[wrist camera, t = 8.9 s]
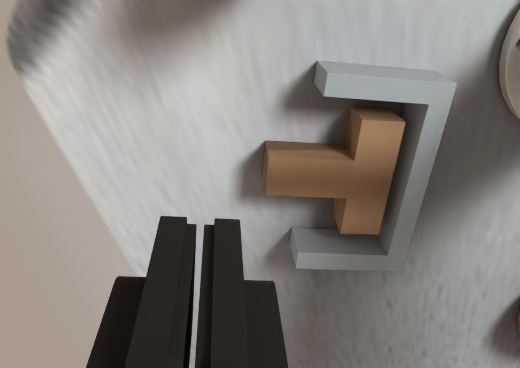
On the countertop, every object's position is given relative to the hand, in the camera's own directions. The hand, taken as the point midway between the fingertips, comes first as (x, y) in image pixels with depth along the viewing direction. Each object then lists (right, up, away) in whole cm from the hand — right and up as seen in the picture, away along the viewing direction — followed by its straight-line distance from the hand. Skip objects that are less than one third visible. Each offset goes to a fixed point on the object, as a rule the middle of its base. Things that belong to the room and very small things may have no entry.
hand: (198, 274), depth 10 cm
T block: (+6, +4, +25) cm, 26 cm away
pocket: (+9, +4, +25) cm, 27 cm away
